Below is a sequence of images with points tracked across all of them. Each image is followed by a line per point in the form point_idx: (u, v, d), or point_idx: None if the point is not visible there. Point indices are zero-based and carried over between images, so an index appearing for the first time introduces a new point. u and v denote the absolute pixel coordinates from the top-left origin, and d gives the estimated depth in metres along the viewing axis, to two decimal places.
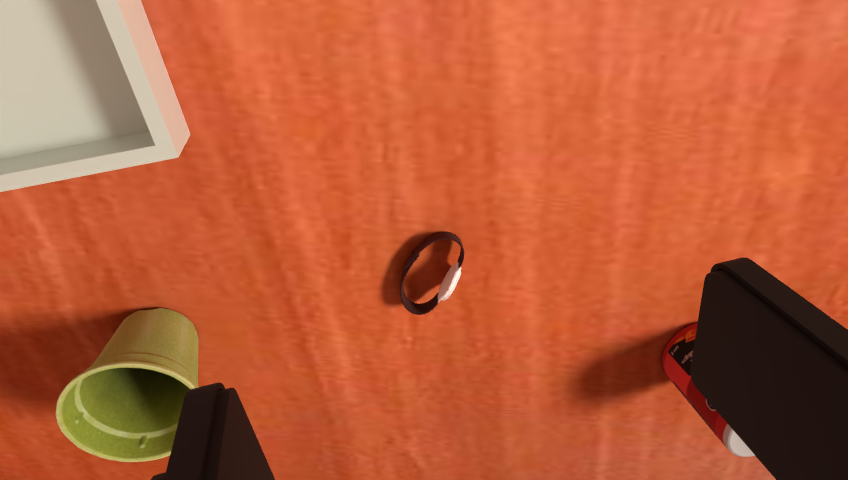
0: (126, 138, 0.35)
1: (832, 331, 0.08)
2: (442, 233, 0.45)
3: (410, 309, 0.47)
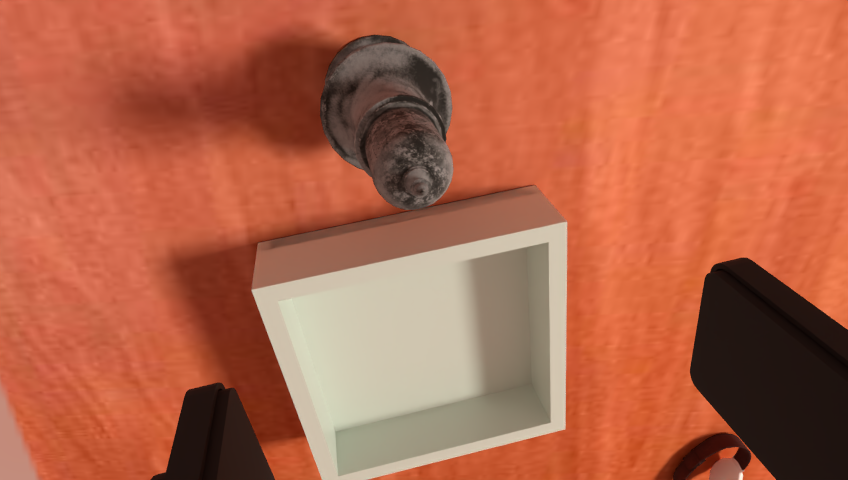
0: (501, 399, 0.38)
1: (832, 331, 0.08)
2: (726, 436, 0.47)
3: None
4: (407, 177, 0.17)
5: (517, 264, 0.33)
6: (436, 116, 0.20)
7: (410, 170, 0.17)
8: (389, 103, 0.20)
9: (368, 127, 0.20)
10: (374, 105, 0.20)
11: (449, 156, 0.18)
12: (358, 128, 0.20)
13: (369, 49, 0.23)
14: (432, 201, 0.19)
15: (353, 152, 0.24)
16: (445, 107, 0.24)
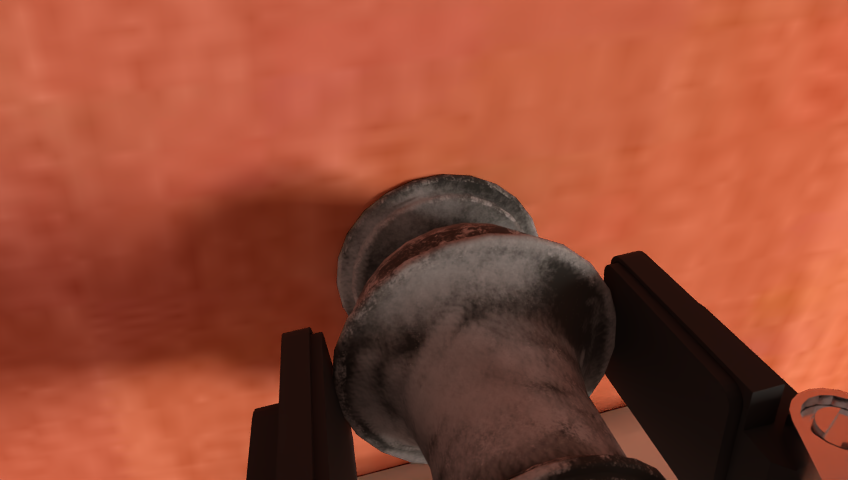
0: None
1: (699, 318, 0.09)
2: None
3: None
4: None
5: None
6: None
7: None
8: None
9: None
10: None
11: None
12: None
13: (451, 253, 0.09)
14: None
15: (403, 444, 0.11)
16: (603, 347, 0.11)
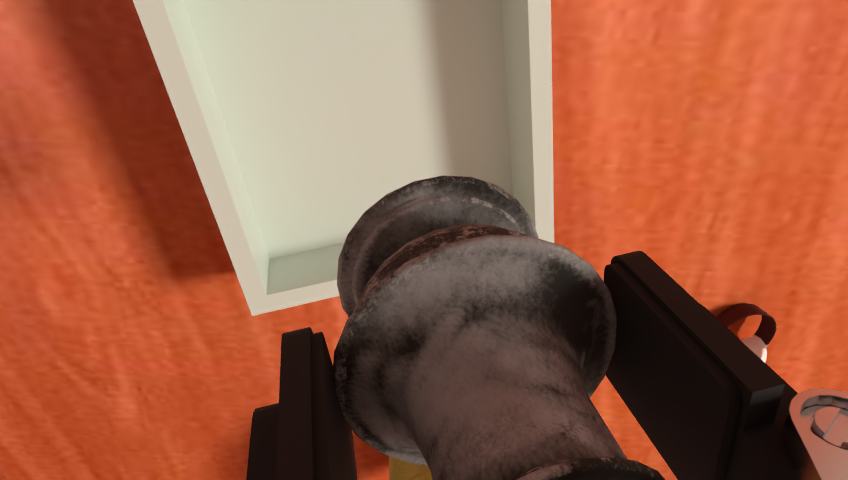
0: None
1: (699, 317, 0.09)
2: (746, 306, 0.40)
3: None
4: None
5: (489, 14, 0.26)
6: None
7: None
8: None
9: None
10: None
11: None
12: None
13: (452, 255, 0.09)
14: None
15: (403, 446, 0.11)
16: (603, 348, 0.11)
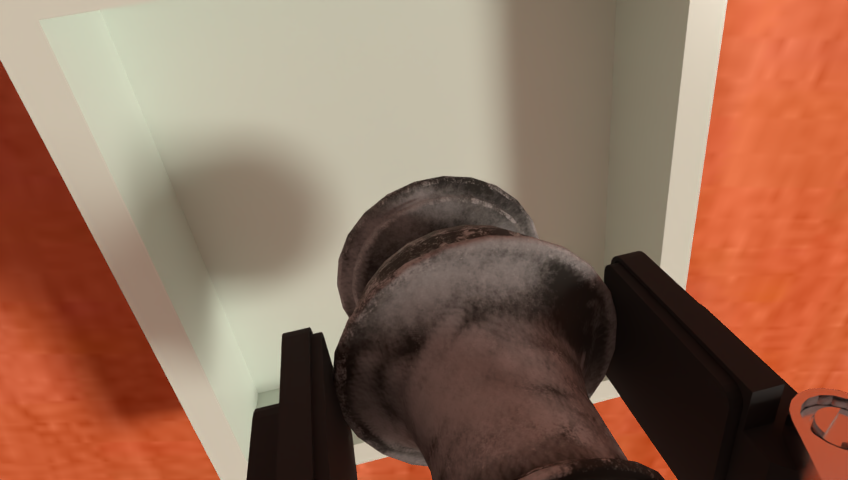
0: None
1: (699, 318, 0.09)
2: None
3: None
4: None
5: (595, 49, 0.17)
6: None
7: None
8: None
9: None
10: None
11: None
12: None
13: (452, 255, 0.09)
14: None
15: (403, 446, 0.11)
16: (603, 349, 0.11)
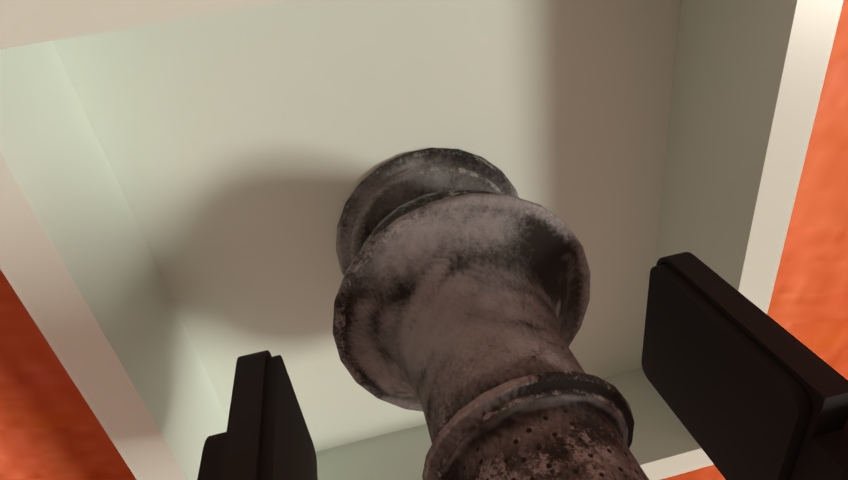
0: None
1: (758, 321, 0.09)
2: None
3: None
4: None
5: (652, 77, 0.14)
6: (621, 407, 0.08)
7: None
8: (517, 401, 0.08)
9: (464, 454, 0.08)
10: (479, 403, 0.08)
11: None
12: (436, 451, 0.08)
13: (438, 211, 0.10)
14: None
15: (398, 390, 0.12)
16: (578, 300, 0.12)
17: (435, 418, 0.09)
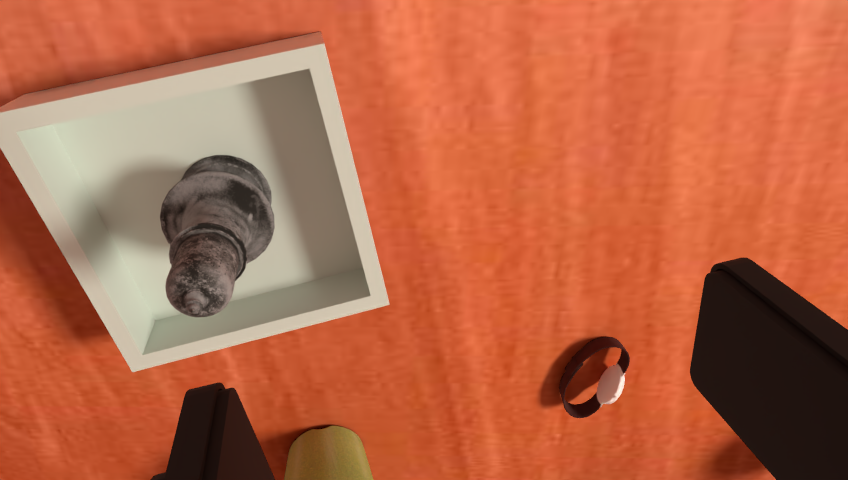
0: (329, 282, 0.36)
1: (832, 331, 0.08)
2: (604, 339, 0.45)
3: (571, 413, 0.47)
4: (186, 298, 0.23)
5: (314, 120, 0.32)
6: (233, 236, 0.26)
7: (188, 292, 0.23)
8: (191, 231, 0.25)
9: (177, 250, 0.25)
10: (180, 232, 0.25)
11: (224, 277, 0.23)
12: (170, 250, 0.26)
13: (193, 178, 0.28)
14: (216, 311, 0.24)
15: None
16: (266, 215, 0.30)
17: None
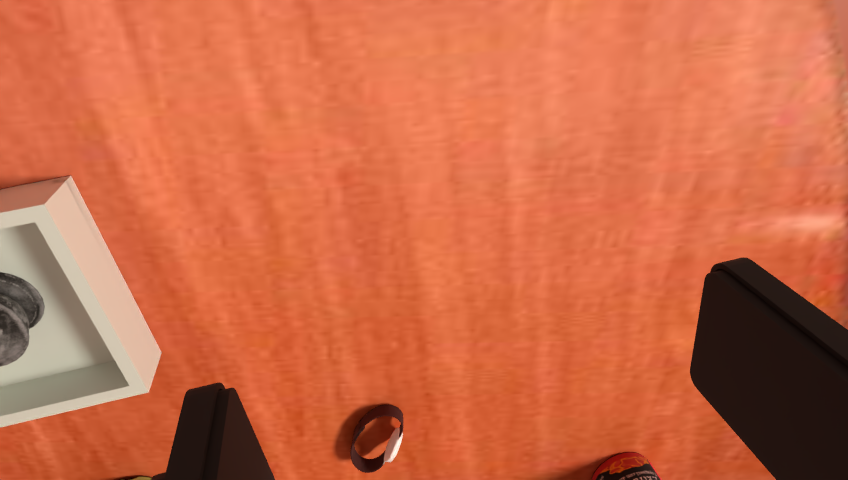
0: (106, 368, 0.42)
1: (832, 331, 0.08)
2: (384, 407, 0.52)
3: (360, 468, 0.54)
4: None
5: None
6: None
7: None
8: None
9: None
10: None
11: None
12: None
13: None
14: None
15: None
16: (18, 328, 0.36)
17: None
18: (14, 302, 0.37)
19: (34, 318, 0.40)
